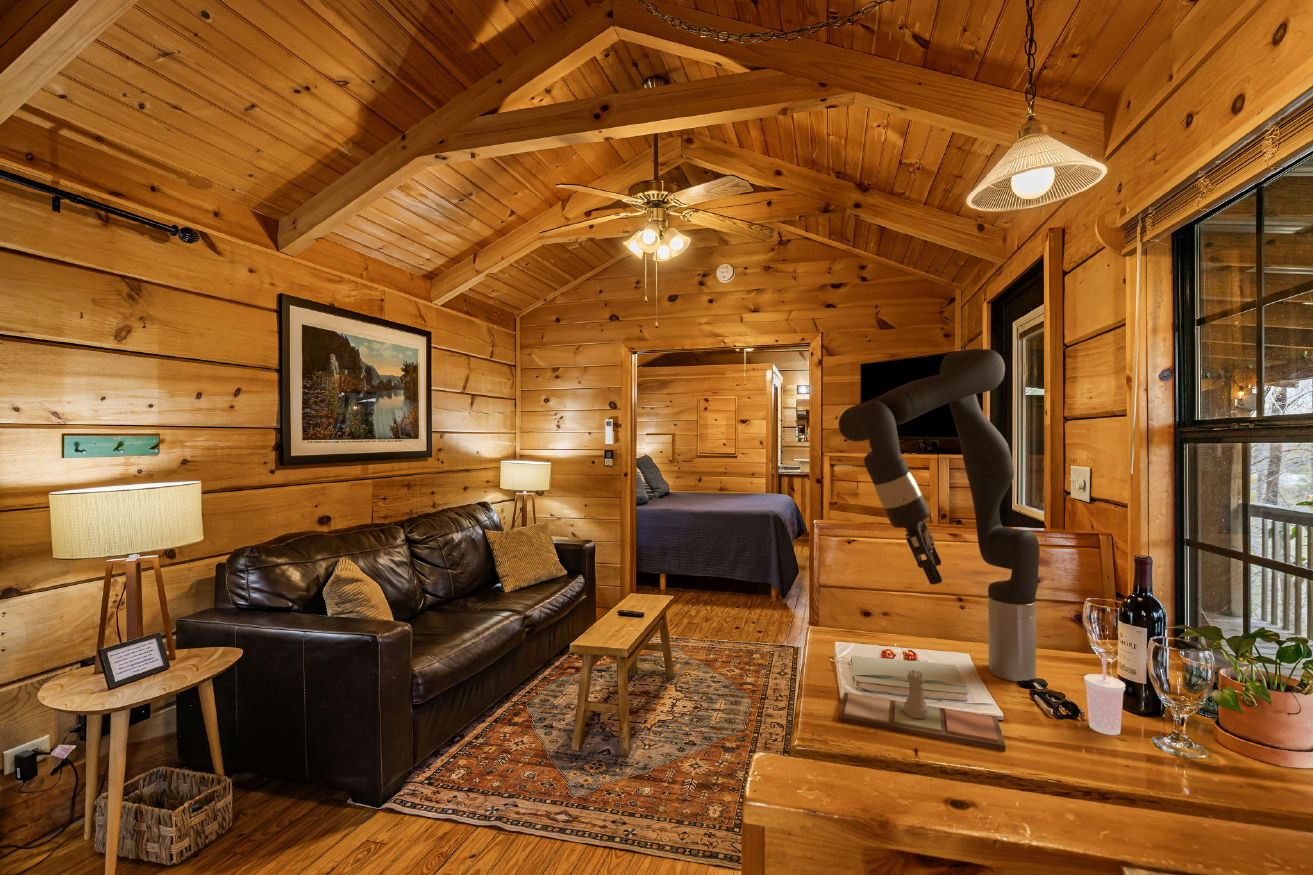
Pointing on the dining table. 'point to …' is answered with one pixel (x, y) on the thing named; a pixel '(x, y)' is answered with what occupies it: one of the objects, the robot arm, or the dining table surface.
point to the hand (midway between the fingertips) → (936, 573)
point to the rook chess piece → (916, 696)
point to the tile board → (923, 721)
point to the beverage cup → (1104, 702)
